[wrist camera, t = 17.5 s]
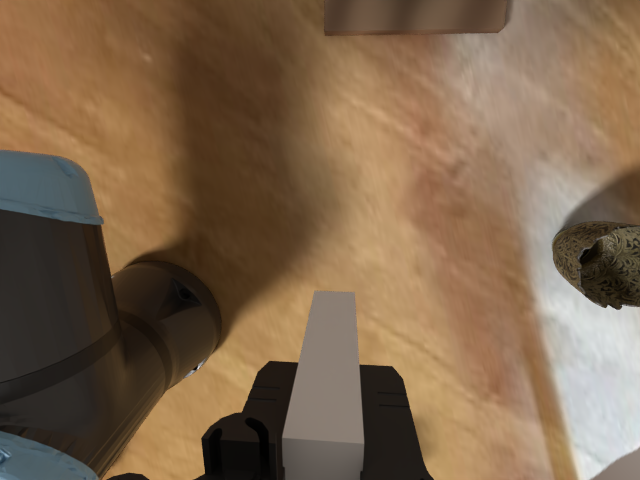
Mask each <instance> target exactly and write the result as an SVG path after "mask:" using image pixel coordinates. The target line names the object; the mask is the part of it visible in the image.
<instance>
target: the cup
mask: <svg viewBox="0 0 640 480" xmlns="http://www.w3.org/2000/svg"><path fill="white" fill-rule="evenodd" d="M552 251H553V260H554V263H555V266H556V268H557V270H558V271H559V273H560V274H561V275H562V276H563V277H564V278H565V279H566V280H567V281H568V282H569V283H570V284H571V285H572V286H574V287H575V288H576V289H577V290H579V291H580V292H581V293H582V294H583V295H585V296H586V297H587V298H588V299H589V300H591V301H592V302H593V303H595V304H597V305H599V306H601V307H604V308H606V307H607V306H608V305H610V306H611V307H613V308H615V309H617V310H620V309H621V308H622V305H626V306H630V307H640V226H639V225H630V224H623V223H615V222H605V221H592V222H585V223H581V224H578V225H575V226H573V227H571V228H569V229H567V230H564V231H562V232H560V233H559V234H557V235H556V237H555V238H554V240H553V242H552ZM607 304H608V305H607ZM620 305H621V306H620Z"/></svg>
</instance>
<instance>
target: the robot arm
mask: <svg viewBox="0 0 640 480" xmlns="http://www.w3.org/2000/svg"><path fill="white" fill-rule="evenodd" d="M101 224H104V220H103V218H102V217H101V216H99V213H98V209H97V205H96V202H95V198H94V194H93V190H92V186H91V182H90V179H89V177H88V175H87V173H86V172H85V171H84V169H83V168H82V167H81V166H79V165H78V164H77V163H75V162H73V161H71V160H69V159H67V158H64V157H60V156H54V155H47V154H39V153H30V152H20V151H10V150H0V480H101V479H102V478H103V477H104V475H105V474H106V473H107V471H108V470H109V468H110V467H111V466H112V464H113V463H114V462H115V460H116V459H117V457H118V456H119V455H120V453H121V452H122V450H123V449H124V448H125V446H126V445H127V444H128V442H129V441H130V439H131V438H132V437H133V435H134V434H135V433H136V431H137V430H138V428H139V427H140V426H141V424H142V423H143V422H144V420H145V419H146V417H147V416H148V415H149V413H150V412H151V411H152V409H153V408H154V406H155V405H156V404H157V402H158V401H159V400H160V398H161V397H162V396H163V394H164V393H165V392H166V391H167V390H168V389H170V388H171V387H173V386H174V385H176V384H177V383H179V382H180V381H181V380H182V379H184V378H186V377H188V376H190V375H191V374H193V373H194V372H196V371H197V370H198V369H199V368H200V367H202V366H203V364H204V363H205V362H206V361H207V360H208V358H209V357H210V355H211V354H212V352H213V351H214V349H215V347H216V345H217V343H218V341H219V337H220V333H221V317H220V312H219V309H218V306H217V303H216V301H215V299H214V297H213V296H212V294H211V292H210V291H209V290H208V288H207V287H206V286H205V285H204V284H203V283H202V282H201V281H200V280H199V279H198V278H197V277H195V276H194V275H193V274H191V273H190V272H188V271H187V270H185V269H183V268H181V267H179V266H176V265H173V264H170V263H166V262H160V261H144V262H139V263H135V264H132V265H130V266H128V267H126V268H124V269H122V270H120V271H119V272H117V273H115V274H113V275H112V276H111V273H110V268H109V263H108V258H107V253H106V248H105V243H104V237H103V232H102V227H101ZM201 440H202V449H203V458H204V467H205V474H204V475H202V476H200V477H198V478H196V479H194V480H434V479H433V478H432V477H431V476H430V474H429V473H428V471H427V469H426V466H425V464H424V461H423V458H422V454H421V450H420V446H419V442H418V438H417V434H416V430H415V426H414V422H413V418H412V414H411V410H410V406H409V402H408V397H407V393H406V389H405V385H404V381H403V379H402V377H401V376H400V375H399V374H398V373H397V371H396V370H395V369H394V368H393V367H392V366H376V365H359V353H358V337H357V321H356V305H355V292H334V291H314V296H313V300H312V305H311V309H310V314H309V318H308V323H307V327H306V332H305V336H304V341H303V345H302V350H301V354H300V359H299V363H297V362H279V361H269V362H268V363H267V364H266V365H265V366H264V367H263V368H262V369H261V370H260V371H259V372H258V373H257V376H256V378H255V381H254V383H253V386H252V389H251V391H250V393H249V396H248V400H247V401H246V403H245V406H244V408H243V411H242V412H241V413H234V414H231V415H229V416H226V417H223V418H221V419H220V420H218V421H217V422H216V423H214V424H213V425H212V426H210V427H209V429H208V430H207V431H206V433H205V434H204V435H203V437H202V438H201ZM107 480H149V479H148V478H146V477H145V476H144V475H142V474H135V473H126V474H122V475H117V476H113V477H111V478H109V479H107Z"/></svg>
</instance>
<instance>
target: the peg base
mask: <svg viewBox="0 0 640 480" xmlns="http://www.w3.org/2000/svg"><path fill="white" fill-rule="evenodd" d="M506 7H507V0H325V26H324V32H325V36H332V35H393V34H455V33H498V32H499V31H501V30H502V29H503V28H504V21H505V14H506Z"/></svg>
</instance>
